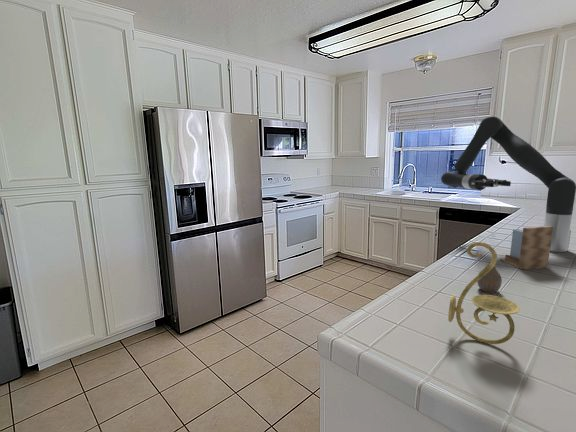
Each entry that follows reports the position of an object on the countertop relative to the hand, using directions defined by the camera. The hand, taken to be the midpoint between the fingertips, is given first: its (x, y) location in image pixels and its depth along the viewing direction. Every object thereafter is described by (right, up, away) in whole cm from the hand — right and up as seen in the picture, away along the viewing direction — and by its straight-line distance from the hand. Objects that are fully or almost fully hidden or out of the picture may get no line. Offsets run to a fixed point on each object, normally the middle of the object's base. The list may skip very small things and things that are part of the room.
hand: (501, 184), depth 142 cm
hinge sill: (+1, -34, -10) cm, 35 cm away
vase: (-28, -39, -35) cm, 60 cm away
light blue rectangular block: (+1, -33, -10) cm, 35 cm away
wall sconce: (-48, -45, -64) cm, 92 cm away
